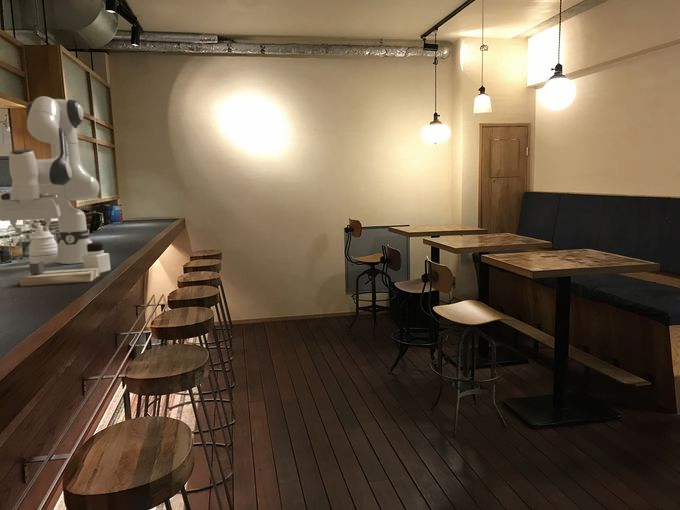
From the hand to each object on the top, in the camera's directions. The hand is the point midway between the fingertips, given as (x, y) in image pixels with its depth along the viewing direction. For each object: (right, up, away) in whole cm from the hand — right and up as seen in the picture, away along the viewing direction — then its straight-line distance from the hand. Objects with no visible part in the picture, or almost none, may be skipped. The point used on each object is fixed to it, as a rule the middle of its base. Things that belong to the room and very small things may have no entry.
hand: (32, 231), depth 188 cm
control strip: (+8, -18, +5) cm, 21 cm away
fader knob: (0, -15, +3) cm, 16 cm away
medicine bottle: (+15, -16, +20) cm, 29 cm away
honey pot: (-24, -12, +50) cm, 57 cm away
